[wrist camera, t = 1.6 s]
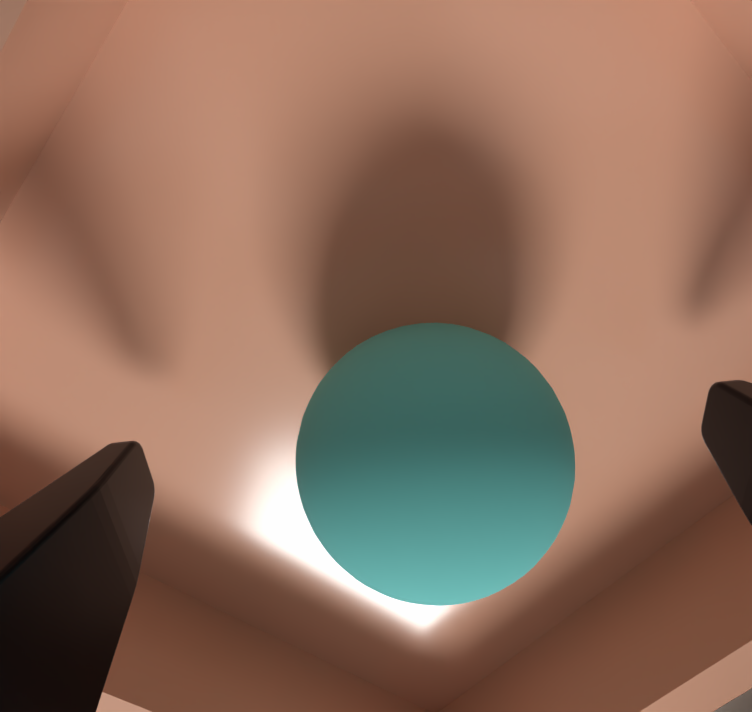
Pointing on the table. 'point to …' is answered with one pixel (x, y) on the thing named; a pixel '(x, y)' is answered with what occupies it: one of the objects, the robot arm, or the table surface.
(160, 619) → the dish
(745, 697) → the table surface
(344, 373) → the ball
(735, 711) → the table surface
